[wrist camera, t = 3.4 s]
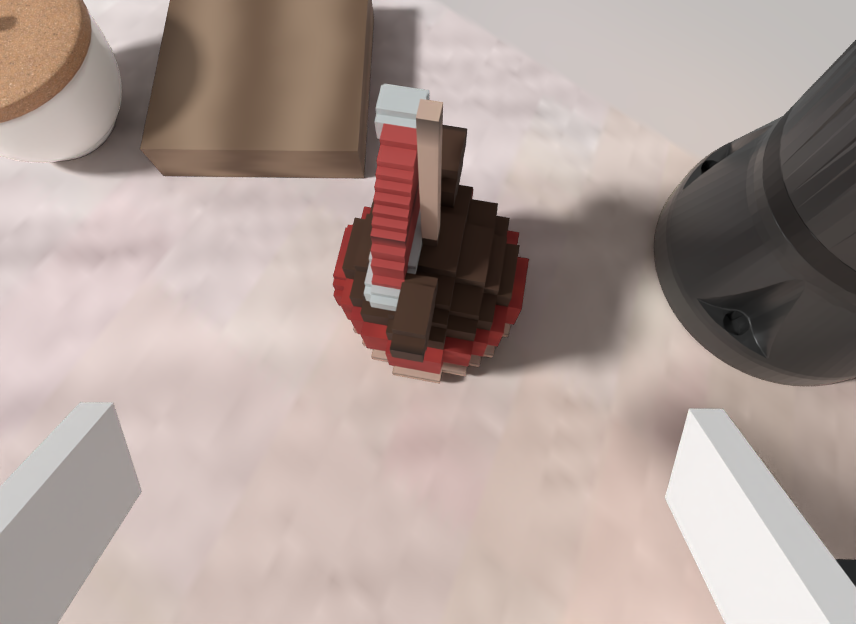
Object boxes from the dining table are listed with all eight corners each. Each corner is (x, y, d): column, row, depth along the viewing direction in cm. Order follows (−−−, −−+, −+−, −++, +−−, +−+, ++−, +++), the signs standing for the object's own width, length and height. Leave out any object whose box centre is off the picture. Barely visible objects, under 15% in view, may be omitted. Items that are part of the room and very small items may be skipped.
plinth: (373, 17, 39) (369, -20, 37) (363, 178, 36) (358, 151, 33) (192, 16, 40) (173, -21, 37) (163, 175, 36) (139, 149, 33)
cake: (495, 408, 31) (571, 313, 14) (334, 377, 32) (218, 251, 15) (521, 237, 34) (609, -11, 17) (374, 213, 35) (317, -51, 18)
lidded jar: (-42, 124, 37) (-193, 9, 28) (89, 30, 39) (-13, -103, 30) (50, 223, 35) (-83, 133, 26) (183, 118, 37) (104, 1, 28)
